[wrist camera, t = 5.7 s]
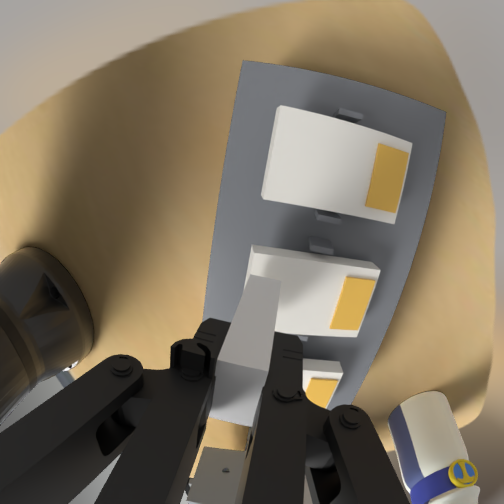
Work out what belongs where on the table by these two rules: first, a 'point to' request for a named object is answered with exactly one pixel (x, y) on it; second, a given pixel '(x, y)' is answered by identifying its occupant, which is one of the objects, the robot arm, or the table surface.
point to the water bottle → (432, 451)
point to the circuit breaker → (221, 477)
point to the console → (317, 220)
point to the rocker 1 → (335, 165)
